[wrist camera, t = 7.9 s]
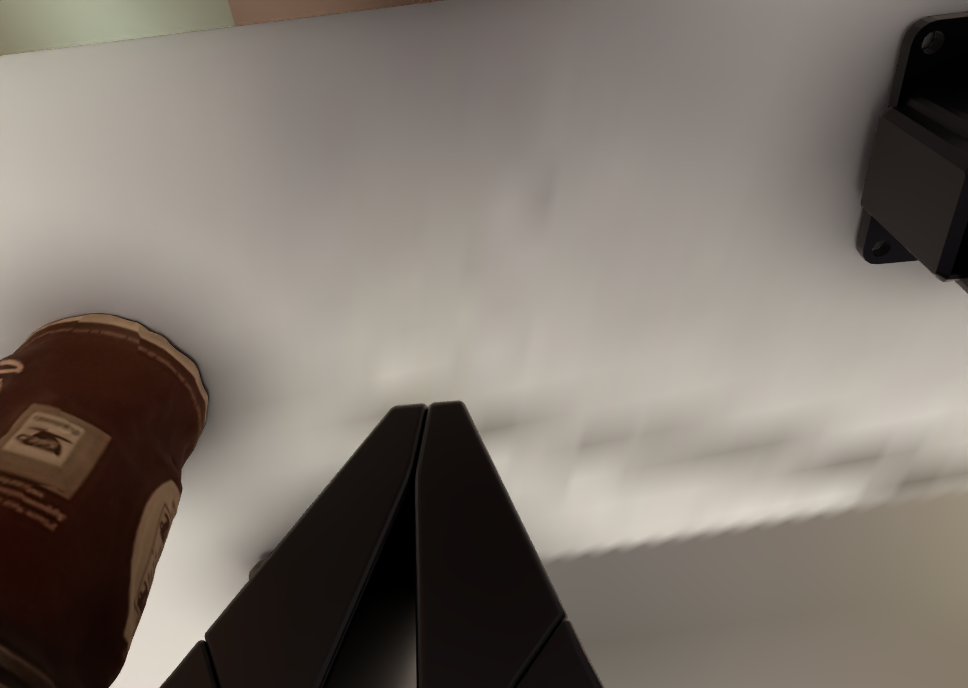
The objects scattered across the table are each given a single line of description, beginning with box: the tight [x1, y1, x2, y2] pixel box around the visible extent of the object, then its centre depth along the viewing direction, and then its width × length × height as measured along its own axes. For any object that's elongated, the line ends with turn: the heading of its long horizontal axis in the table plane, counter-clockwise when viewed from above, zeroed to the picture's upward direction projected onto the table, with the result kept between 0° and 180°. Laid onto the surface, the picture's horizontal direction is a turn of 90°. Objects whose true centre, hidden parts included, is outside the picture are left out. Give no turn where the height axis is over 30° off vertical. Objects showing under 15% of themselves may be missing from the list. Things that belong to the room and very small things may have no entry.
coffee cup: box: [0, 314, 208, 688], centre depth 18 cm, size 9×8×13 cm
